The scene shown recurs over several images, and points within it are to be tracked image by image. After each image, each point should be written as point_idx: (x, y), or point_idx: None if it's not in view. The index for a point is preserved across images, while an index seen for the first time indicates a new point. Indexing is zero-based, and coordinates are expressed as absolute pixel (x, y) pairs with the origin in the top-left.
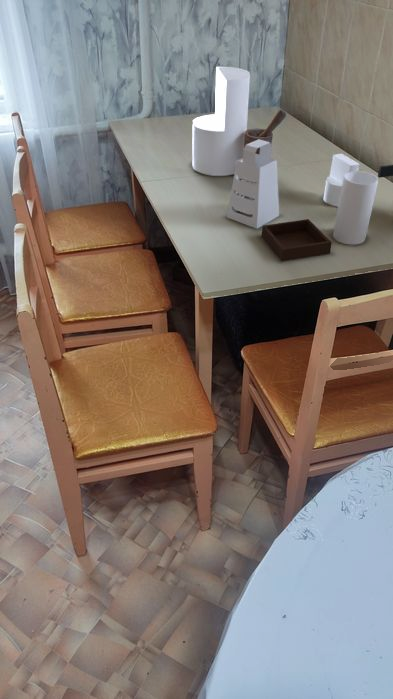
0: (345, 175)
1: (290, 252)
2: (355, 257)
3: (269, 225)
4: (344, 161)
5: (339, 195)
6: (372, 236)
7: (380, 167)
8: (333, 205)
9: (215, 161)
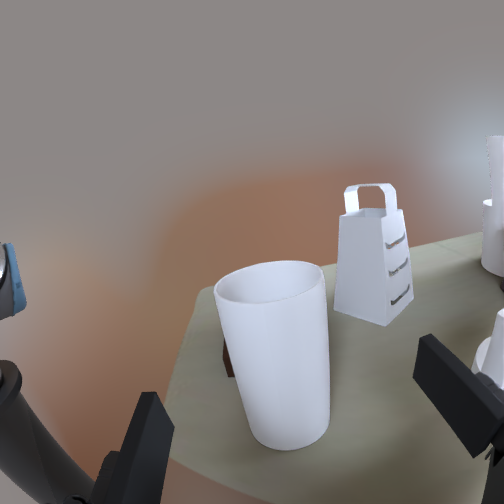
0: (297, 264)
1: None
2: (200, 408)
3: None
4: None
5: None
6: (284, 469)
7: (424, 337)
8: None
9: (485, 247)
